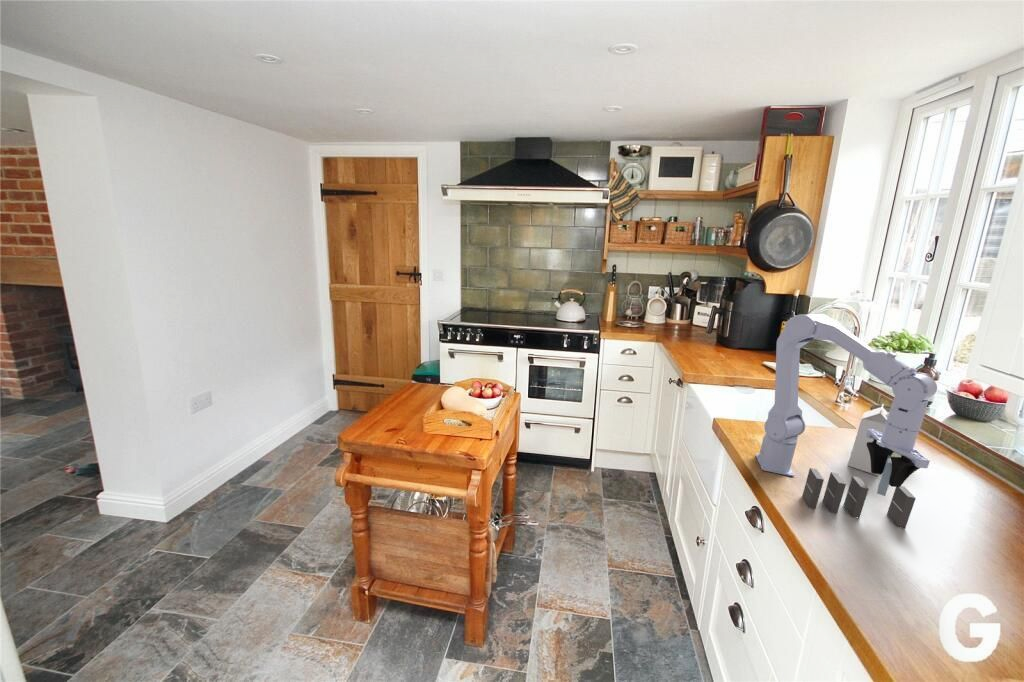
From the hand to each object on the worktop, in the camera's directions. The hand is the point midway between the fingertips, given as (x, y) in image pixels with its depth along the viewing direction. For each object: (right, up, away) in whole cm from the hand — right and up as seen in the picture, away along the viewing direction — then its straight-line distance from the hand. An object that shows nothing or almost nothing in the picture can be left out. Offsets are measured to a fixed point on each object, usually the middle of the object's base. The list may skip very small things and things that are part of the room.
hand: (885, 479), depth 102 cm
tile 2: (-9, -8, +5) cm, 13 cm away
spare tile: (0, -3, +1) cm, 3 cm away
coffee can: (+28, -3, +36) cm, 46 cm away
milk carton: (+16, -5, +26) cm, 31 cm away
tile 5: (+4, -10, +1) cm, 11 cm away
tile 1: (-13, -8, +6) cm, 17 cm away
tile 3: (-5, -9, +4) cm, 11 cm away
